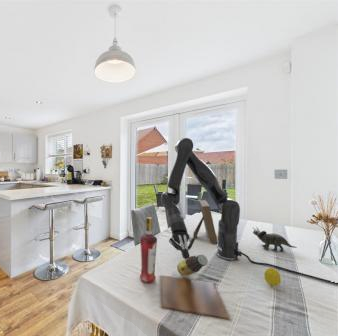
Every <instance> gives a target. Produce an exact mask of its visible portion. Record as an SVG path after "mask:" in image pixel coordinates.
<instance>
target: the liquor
mask: <svg viewBox="0 0 338 336" xmlns="http://www.w3.org/2000/svg"><path fill="white" fill-rule="evenodd" d="M145 224H146V225H145V234H142V235H141V236H140V238H139V239H140V240H139V241H140V275H139V278H140V279H141V280H142V281H143V282H144V283H147V284H149V283H152V282H154V281H156V275H155V274H156V257H157V247H158V246H157V245H158V238H157V237H156V236H155V235H154V234H153V229H152V228H153V227H152V224H153V217H150V216H146V217H145Z"/></svg>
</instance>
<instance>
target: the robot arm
mask: <svg viewBox="0 0 338 336" xmlns="http://www.w3.org/2000/svg"><path fill="white" fill-rule="evenodd" d="M194 147H195V144H194V141H193V140H192V139H191V138H190V137H189V138H188V137H183V138H181V139H179V140H178V141H176V143H175V145H174V150H175V153H176V159H175V162H174V164H173V167H172V169H171V171H170V175H169V178H168V181H167V188H169V189H170V190H172V192H170V191H163V192H162V193H161V195H160V202H161V204H162V206H163V208H164V209H165V211H166V214H167V218H168V223H169V227H170V231H171V237H170V238H169V239H168V243H169V244H170V245H172V247H173V248H174V249H175V250H176V251H180V253H181V256H182V258H183V260H185V259H187V258H189V257H191V256H190V253H189V251H190V250H191V249H192V247H193V245H194V243H195V240H196V239H195V238H193V237H191V236H190V234H189V233H188V229H187V226H186V223H185V220H184V217H183V215H182V211H181V208H180V207H179V206H178V205H179V203H180V200H181V186H182V182H183V177H184V174H185V170H186V167H187V166H188V168H189V169H190V171H191V173H192V174H193V175H194V177H195V178H196V180H197V181H198V183H199V184H200V185H201V187H202V188H204V190H205V191H206V192H207V193H208V194H209V195H210V197H211V199H212V200H213V202H214V204H215V206H216V207H217V209H218V210H219V211H220V212H221V216H220V219H219V220H218V224H217V225H218V226H217V227H218V228H217V242H218V243H217V245H216V249H217V252H216V255H217V256H218V257H219V258H221V259H224V260H226V261H235V260H236V261H237V260H238V258H239V257H242V255H243V256H244V257H245V258H247V260H248V261H249V262H250V263H251V264H255V265H262V266H269V267H271V268H277V269H279V270H283V271H287V272H289V273H293V274H297V275H300V276H304V277H307V278H310V279H314V280H318V281H322V282H325V283H329V284H333V285H337V286H338V282H337V283H335V282H336V281H333V282H331V281H332V280H330V279H329V280H328V279H325V278H321V277H317V276H314V275H311V274H306V273H304V272H300V271H297V270H292V269H288V268H285V267H282V266H279V265H275V264H271V263H269V262H268V263H267V262H257V261H254V260H252V259H251V258H250V257H249V255H247V254H246V253H244V252H242V250H241V249H240V248H239V242H238V225H239V223H240V217H241V206H240V203H238V201H236V200H234V199H232V198H231V197H229V196H228V194H226V192H225V191H224V190H223V188H222V187H221V184H220V181H219V179H218V178H217V175H216V174H215V173H214V172H213V170H212V169H211V167H210V166H209V165H207V164H206V163H205V162H204V161H203V160H202V159H200V158H199V157H198V156H197V155H196V153H195V152H194ZM188 242H189V244H188Z"/></svg>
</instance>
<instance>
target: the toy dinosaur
mask: <svg viewBox="0 0 338 336" xmlns="http://www.w3.org/2000/svg"><path fill="white" fill-rule="evenodd" d="M252 229H253V231H252V234H253V235H255V236H256V237H257V238H258V240H259V241H261V242H262V243H264V244H262V247H263V250H266V251H269V247H270V246H274V248H273V249H272V248H271V249H272V251H273V252H277V251H278V247H279V248H280V249H279V252H283V251H284V246H286V247H289V248H292V249H293V248H294V249H295V248H296V249H297V248H298V247H297V246H294V245H291V244H289V242H288V241H287V239H286V238H285V237H284V236H282V235H280V234H278V233H267V231H266V230H262V231H260V229H259V228H258V226H255V228H254V227H252ZM282 245H283V246H282Z"/></svg>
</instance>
